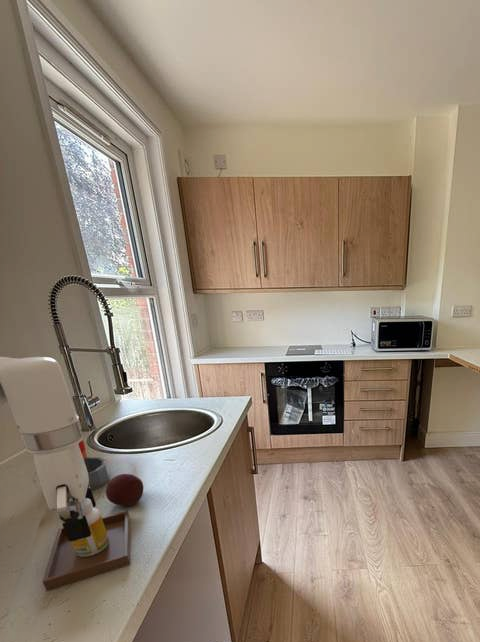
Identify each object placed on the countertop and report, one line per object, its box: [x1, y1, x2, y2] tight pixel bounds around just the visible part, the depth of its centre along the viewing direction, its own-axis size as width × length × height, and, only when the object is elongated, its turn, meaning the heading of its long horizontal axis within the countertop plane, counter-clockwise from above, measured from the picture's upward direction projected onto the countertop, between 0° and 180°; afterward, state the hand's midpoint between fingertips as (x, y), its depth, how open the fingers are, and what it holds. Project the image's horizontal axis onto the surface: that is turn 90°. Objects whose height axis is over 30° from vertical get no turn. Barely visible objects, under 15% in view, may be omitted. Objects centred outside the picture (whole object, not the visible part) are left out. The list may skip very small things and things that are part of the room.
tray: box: [42, 510, 131, 592], centre depth 65 cm, size 12×15×2 cm
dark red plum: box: [105, 473, 144, 507], centre depth 79 cm, size 7×8×7 cm
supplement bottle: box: [70, 498, 109, 557], centre depth 63 cm, size 5×5×10 cm
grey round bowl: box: [83, 456, 111, 492], centre depth 87 cm, size 12×12×4 cm
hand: (83, 522), depth 63 cm, fingers open, 9 cm apart
